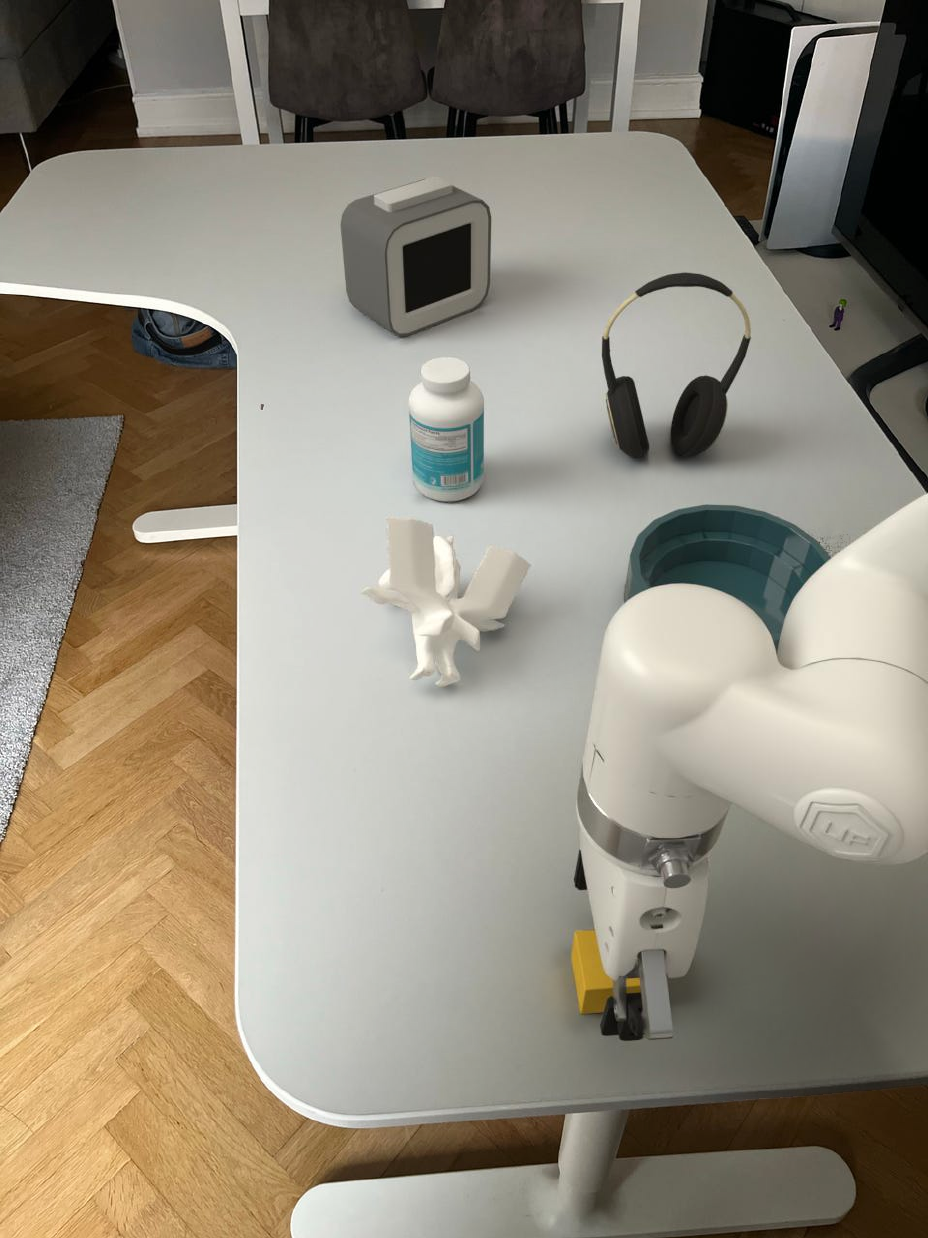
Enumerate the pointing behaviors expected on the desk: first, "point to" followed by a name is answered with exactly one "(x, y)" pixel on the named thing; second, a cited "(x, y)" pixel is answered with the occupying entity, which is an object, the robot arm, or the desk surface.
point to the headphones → (698, 403)
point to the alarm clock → (417, 254)
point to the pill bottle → (447, 431)
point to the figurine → (444, 593)
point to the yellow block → (593, 974)
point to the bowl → (728, 557)
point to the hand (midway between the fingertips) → (611, 953)
